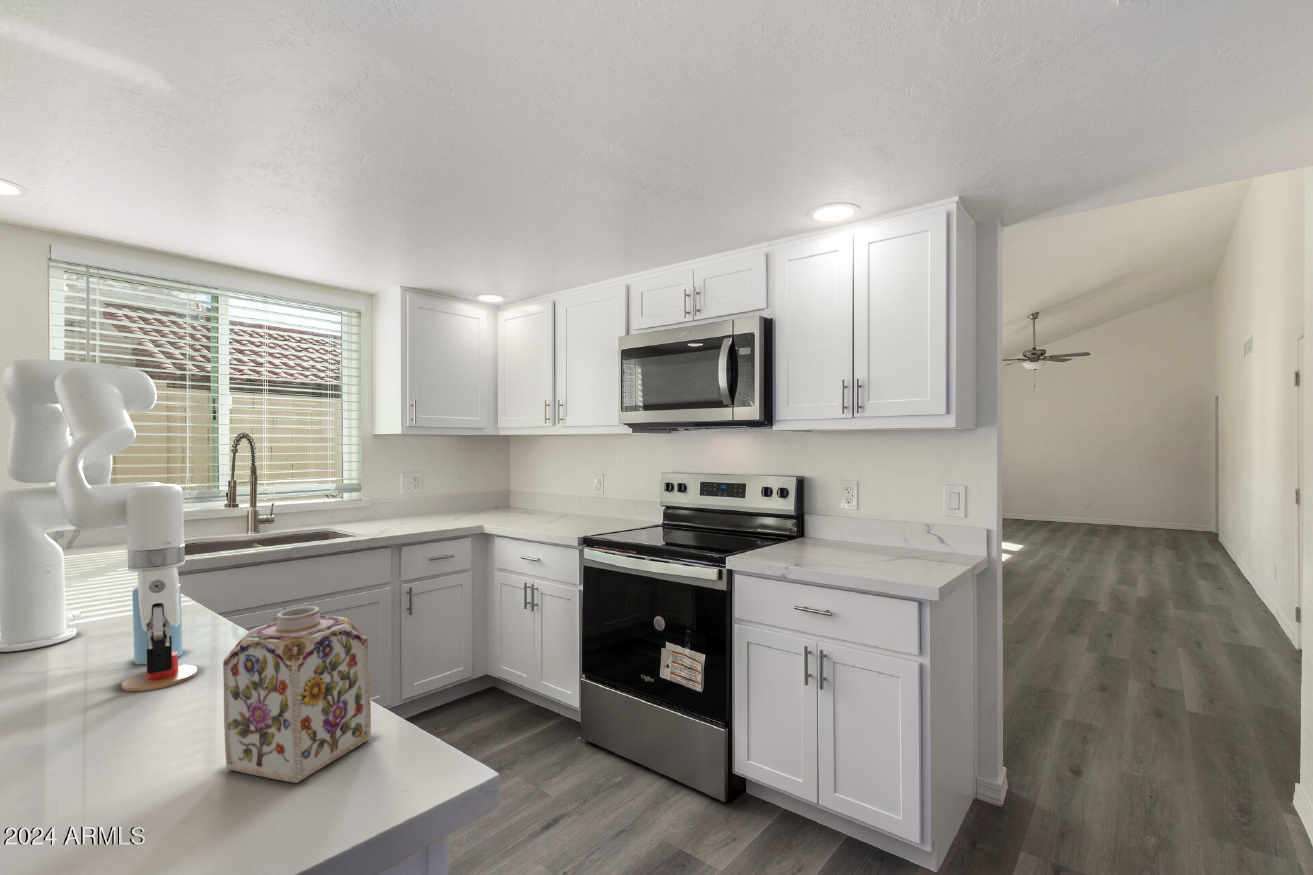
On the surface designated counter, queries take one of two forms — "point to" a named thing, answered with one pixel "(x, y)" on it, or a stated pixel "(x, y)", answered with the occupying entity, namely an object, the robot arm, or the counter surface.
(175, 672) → the cap
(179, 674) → the coaster
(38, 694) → the counter surface
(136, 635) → the bottle
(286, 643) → the decorative jar
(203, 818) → the counter surface
